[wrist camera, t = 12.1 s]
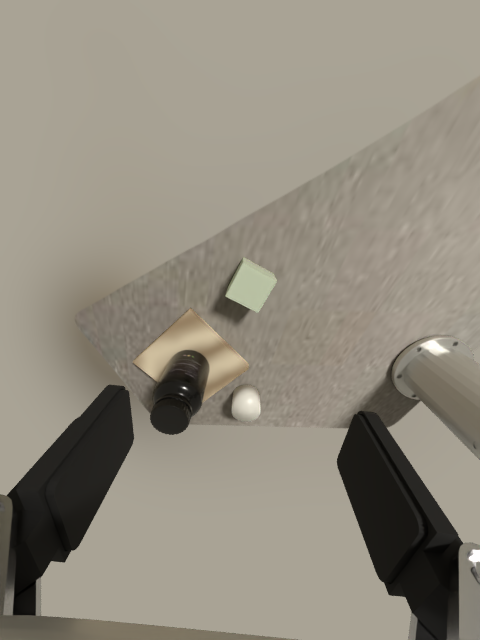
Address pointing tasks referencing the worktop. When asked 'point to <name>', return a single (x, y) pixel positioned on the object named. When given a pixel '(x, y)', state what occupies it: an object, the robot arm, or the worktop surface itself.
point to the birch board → (197, 337)
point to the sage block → (250, 285)
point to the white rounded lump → (246, 403)
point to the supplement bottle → (179, 392)
